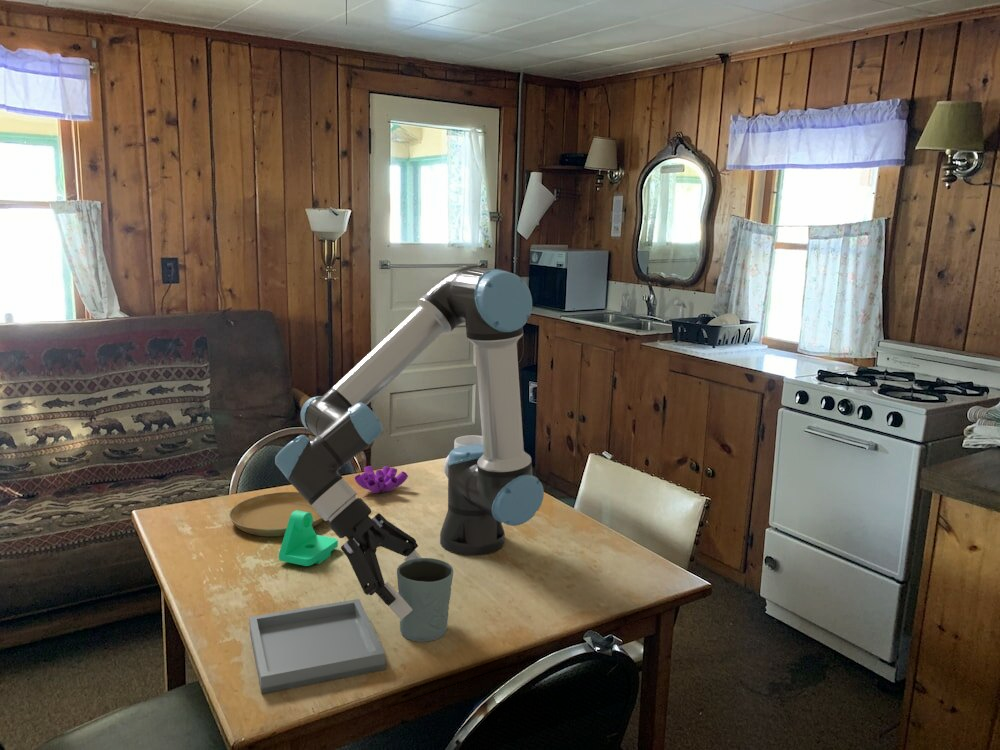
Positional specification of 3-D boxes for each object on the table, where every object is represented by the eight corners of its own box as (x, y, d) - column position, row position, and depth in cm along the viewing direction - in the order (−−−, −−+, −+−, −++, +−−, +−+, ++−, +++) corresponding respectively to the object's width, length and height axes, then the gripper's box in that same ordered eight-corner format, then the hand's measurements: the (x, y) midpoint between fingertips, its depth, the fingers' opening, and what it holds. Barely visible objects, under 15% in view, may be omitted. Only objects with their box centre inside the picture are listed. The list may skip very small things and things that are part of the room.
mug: (455, 496, 212) (456, 450, 210) (434, 485, 221) (434, 440, 218) (500, 487, 221) (501, 442, 218) (478, 476, 230) (479, 433, 227)
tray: (359, 613, 149) (359, 598, 149) (385, 669, 131) (385, 653, 131) (249, 632, 142) (249, 616, 141) (261, 694, 124) (260, 677, 123)
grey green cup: (390, 621, 147) (390, 561, 144) (442, 612, 150) (442, 553, 148) (406, 649, 137) (406, 585, 135) (460, 638, 141) (461, 576, 139)
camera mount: (309, 571, 167) (308, 526, 165) (279, 565, 169) (277, 520, 167) (339, 549, 178) (338, 507, 176) (311, 544, 180) (309, 502, 178)
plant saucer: (266, 550, 177) (265, 536, 176) (210, 522, 192) (209, 509, 191) (351, 520, 195) (350, 508, 194) (293, 497, 210) (293, 485, 209)
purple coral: (395, 494, 222) (414, 471, 219) (375, 513, 208) (395, 488, 205) (365, 468, 223) (384, 444, 220) (343, 485, 208) (363, 460, 206)
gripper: (357, 498, 156) (428, 578, 155) (296, 548, 132) (379, 643, 131) (382, 476, 153) (454, 557, 153) (324, 522, 130) (409, 618, 129)
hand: (420, 597), depth 142 cm, fingers open, 13 cm apart
